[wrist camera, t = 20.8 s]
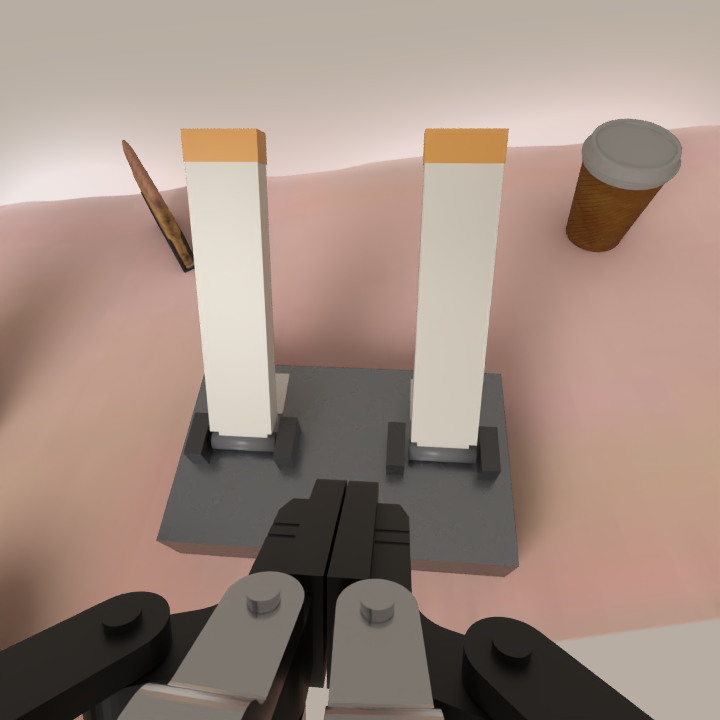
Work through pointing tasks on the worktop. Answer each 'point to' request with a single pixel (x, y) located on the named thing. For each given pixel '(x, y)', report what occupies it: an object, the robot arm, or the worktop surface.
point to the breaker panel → (348, 472)
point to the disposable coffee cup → (619, 180)
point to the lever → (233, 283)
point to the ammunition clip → (160, 211)
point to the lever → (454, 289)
